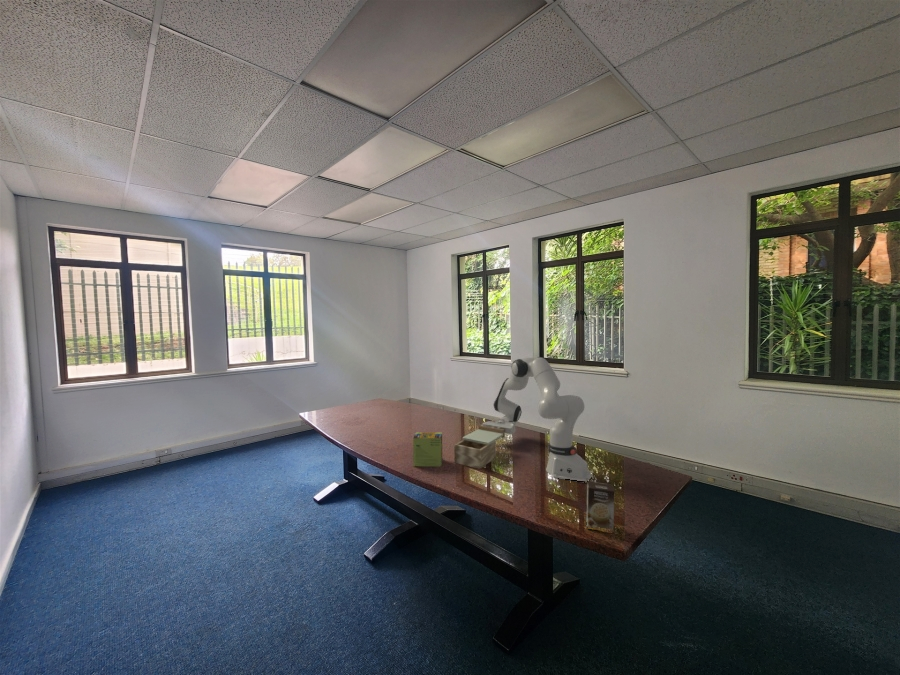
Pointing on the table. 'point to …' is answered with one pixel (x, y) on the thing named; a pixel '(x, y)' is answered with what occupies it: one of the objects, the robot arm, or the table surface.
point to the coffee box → (600, 505)
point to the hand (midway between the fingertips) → (492, 430)
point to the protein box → (427, 449)
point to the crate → (474, 453)
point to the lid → (485, 435)
